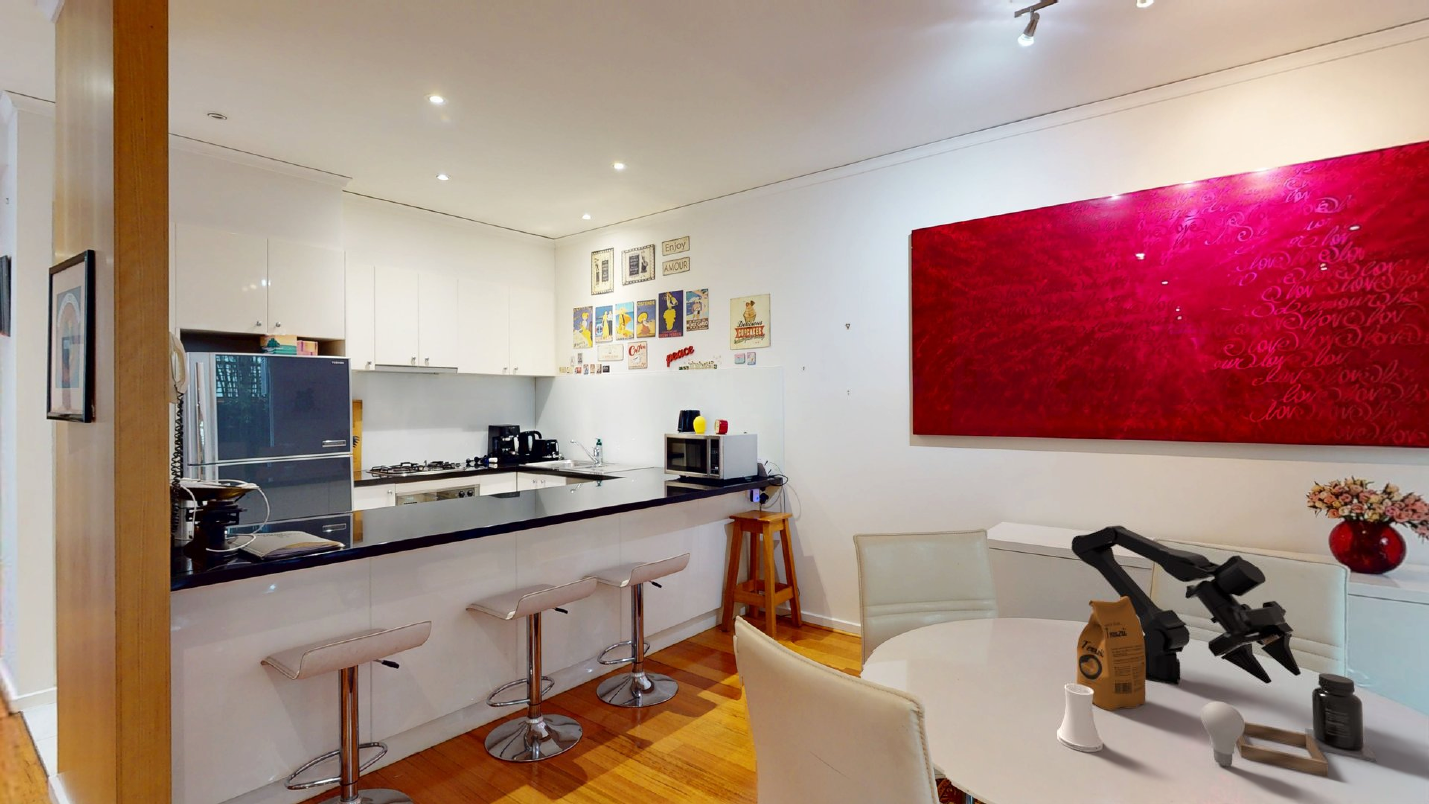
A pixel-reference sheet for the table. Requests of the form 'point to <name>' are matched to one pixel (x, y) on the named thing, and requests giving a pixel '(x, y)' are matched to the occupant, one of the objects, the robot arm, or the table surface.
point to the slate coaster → (1361, 754)
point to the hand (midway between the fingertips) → (1284, 678)
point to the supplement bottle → (1337, 713)
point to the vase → (1079, 720)
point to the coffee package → (1113, 655)
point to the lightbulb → (1222, 729)
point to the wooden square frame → (1311, 765)
